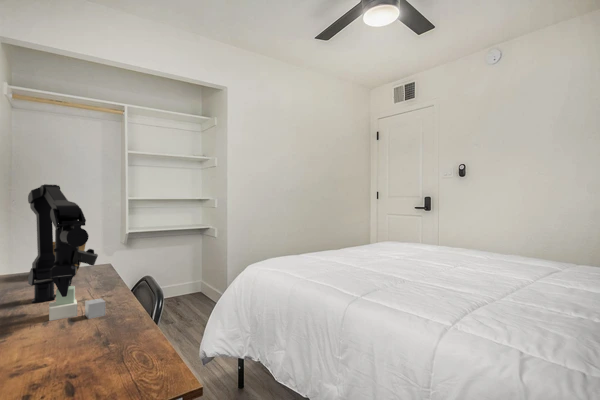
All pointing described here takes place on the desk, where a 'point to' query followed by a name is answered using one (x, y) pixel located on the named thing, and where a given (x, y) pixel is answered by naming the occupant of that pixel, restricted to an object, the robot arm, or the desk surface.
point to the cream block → (62, 310)
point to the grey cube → (94, 308)
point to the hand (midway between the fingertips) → (66, 292)
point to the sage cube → (69, 298)
